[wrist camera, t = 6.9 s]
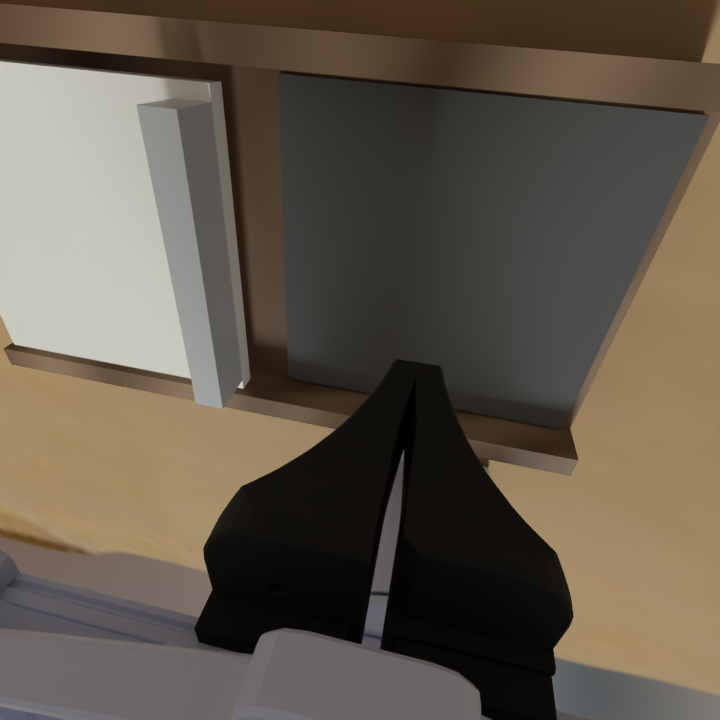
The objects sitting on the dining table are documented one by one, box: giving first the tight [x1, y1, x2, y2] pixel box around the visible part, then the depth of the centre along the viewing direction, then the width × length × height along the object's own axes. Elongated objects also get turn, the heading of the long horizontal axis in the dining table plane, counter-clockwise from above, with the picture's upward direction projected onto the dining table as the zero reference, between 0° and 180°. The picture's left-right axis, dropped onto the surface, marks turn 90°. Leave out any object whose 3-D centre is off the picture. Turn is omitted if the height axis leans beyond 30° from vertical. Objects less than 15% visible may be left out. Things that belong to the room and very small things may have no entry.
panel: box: [278, 73, 710, 429], centre depth 17 cm, size 13×13×1 cm
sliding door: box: [0, 59, 250, 409], centre depth 17 cm, size 12×12×3 cm
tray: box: [0, 3, 720, 476], centre depth 19 cm, size 28×15×5 cm, turn 86°
